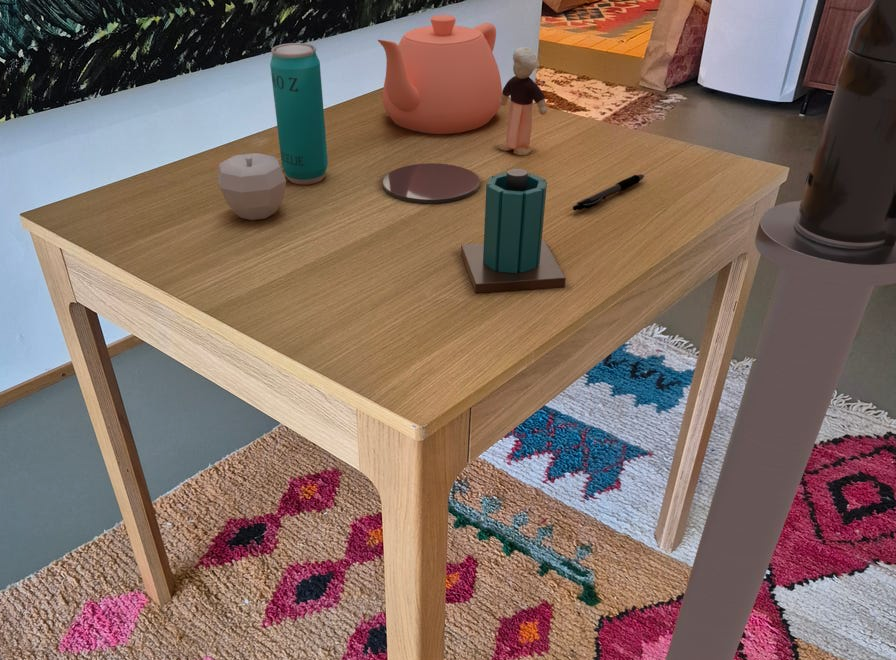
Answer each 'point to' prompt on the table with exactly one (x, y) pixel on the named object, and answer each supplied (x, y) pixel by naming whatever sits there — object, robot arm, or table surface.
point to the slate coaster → (431, 183)
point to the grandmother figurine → (521, 102)
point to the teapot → (442, 77)
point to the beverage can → (299, 112)
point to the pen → (607, 192)
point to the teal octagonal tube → (513, 224)
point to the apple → (252, 185)
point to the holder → (536, 278)
